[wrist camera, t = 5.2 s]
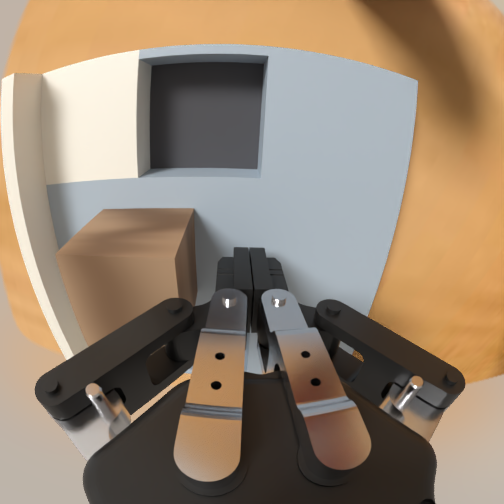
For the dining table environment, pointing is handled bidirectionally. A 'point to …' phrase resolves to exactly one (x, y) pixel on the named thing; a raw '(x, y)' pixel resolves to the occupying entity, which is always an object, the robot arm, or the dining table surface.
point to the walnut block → (128, 266)
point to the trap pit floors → (205, 115)
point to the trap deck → (245, 180)
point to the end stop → (34, 205)
